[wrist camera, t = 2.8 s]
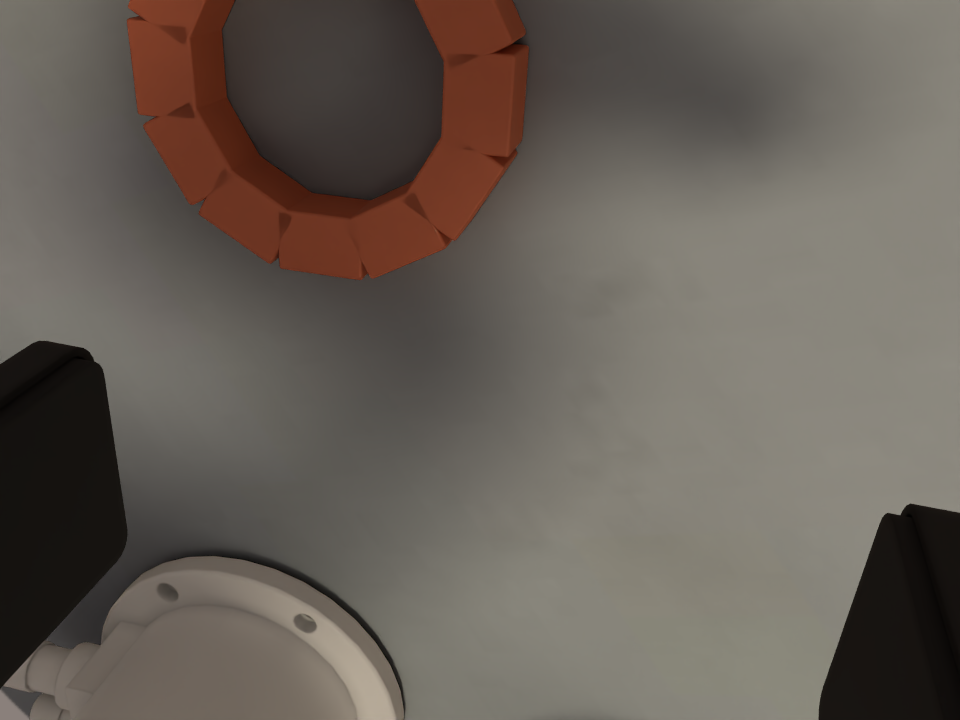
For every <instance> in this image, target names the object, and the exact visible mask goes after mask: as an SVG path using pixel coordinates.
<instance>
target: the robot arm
mask: <svg viewBox="0 0 960 720" xmlns="http://www.w3.org/2000/svg"><path fill="white" fill-rule="evenodd" d="M126 542H127V524H126V518H125V511H124V504H123V497H122V491H121V484H120V477H119V471H118V464H117V457H116V451H115V444H114V437H113V431H112V424H111V417H110V411H109V404H108V397H107V391H106V384H105V377H104V373H103V369H102V367H101V366H100V365H99V364H98V363H96V362H94V359H93V357H92V355H91V354H90V352H89V351H87V350H86V349H84V348H80V347H75V346H70V345H65V344H59V343H54V342H49V341H37V342H35V343H33V344H31V345H29V346H28V347H26V348H25V349H23V350H21V351H20V352H18V353H17V354H15V355H14V356H12V357H11V358H9V359H8V360H6V361H5V362H3V363H1V364H0V688H1V687H2V686H6V687H10V688H14V689H18V690H22V691H26V692H30V693H32V692H41V693H43V694H41V695H40V696H39V697H38V698H37V699H36V701H35V703H34V704H33V706H32V709H31V712H30V715H29V720H404V708H403V702H402V696H401V690H400V688H399V685H398V683H397V680H396V678H395V675H394V673H393V670H392V668H391V666H390V664H389V662H388V661H387V659H386V658H385V656H384V655H383V653H382V651H381V650H380V648H379V647H378V645H377V644H376V642H375V641H374V640H373V639H372V638H371V636H370V635H369V634H368V633H367V632H366V631H365V630H364V629H363V628H362V626H361V625H360V624H359V623H358V622H357V621H356V620H355V619H354V618H353V617H352V616H351V615H349V614H348V613H347V612H346V611H345V610H343V609H342V608H341V607H340V606H339V605H337V604H336V603H335V602H334V601H333V600H332V599H330V598H329V597H327V596H325V595H324V594H322V593H321V592H319V591H317V590H316V589H314V588H313V587H311V586H309V585H308V584H306V583H305V582H303V581H300V580H298V579H296V578H294V577H292V576H289V575H287V574H285V573H283V572H281V571H278V570H276V569H273V568H270V567H266V566H263V565H260V564H256V563H253V562H249V561H246V560H241V559H233V558H225V557H218V556H203V557H186V558H182V559H177V560H173V561H169V562H165V563H162V564H160V565H158V566H156V567H154V568H152V569H150V570H148V571H146V572H144V573H143V574H142V575H141V576H139V577H138V578H137V579H136V580H135V581H134V582H133V583H132V584H131V585H130V586H129V587H128V588H127V589H126V590H125V591H124V593H123V594H122V595H121V596H120V598H119V599H118V600H117V601H116V603H115V604H114V605H113V606H112V607H111V609H110V611H109V613H108V616H107V618H106V621H105V623H104V625H103V630H102V639H101V645H97V644H93V643H89V642H84V643H80V644H78V645H77V646H76V647H75V648H73V649H67V648H63V647H59V646H56V645H55V644H54V643H51V642H49V641H45V639H46V638H47V637H48V636H49V635H50V634H51V633H52V632H53V631H54V629H55V628H56V627H57V626H58V625H59V624H60V623H61V622H62V621H63V620H64V619H65V617H66V616H67V615H68V614H69V613H70V612H71V611H72V610H73V609H74V608H75V607H76V605H77V604H78V603H79V602H80V601H81V600H82V599H83V598H84V597H85V596H86V594H87V593H88V592H89V591H90V590H91V589H92V588H93V587H94V586H95V585H96V584H97V582H98V581H99V580H100V579H101V578H102V577H103V576H104V575H105V574H106V573H107V572H108V570H109V569H110V568H111V567H112V566H113V565H114V564H115V563H116V562H117V560H118V559H119V558H120V556H121V555H122V553H123V551H124V548H125V545H126ZM819 720H960V513H958V512H952V511H947V510H942V509H936V508H931V507H926V506H920V505H915V504H909V505H907V506H906V507H905V508H904V510H903V511H902V513H901V515H895V514H890V513H887V514H885V515H884V516H883V518H882V520H881V522H880V524H879V527H878V530H877V533H876V536H875V539H874V542H873V545H872V548H871V550H870V553H869V556H868V559H867V562H866V565H865V568H864V571H863V574H862V576H861V579H860V582H859V585H858V588H857V591H856V594H855V597H854V600H853V602H852V605H851V608H850V611H849V614H848V617H847V620H846V623H845V626H844V628H843V631H842V634H841V637H840V640H839V643H838V646H837V649H836V652H835V654H834V657H833V660H832V663H831V666H830V669H829V672H828V675H827V678H826V680H825V683H824V686H823V690H822V693H821V698H820V705H819Z"/></svg>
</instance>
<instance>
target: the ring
mask: <svg viewBox="0 0 960 720" xmlns="http://www.w3.org/2000/svg"><path fill="white" fill-rule="evenodd" d="M234 1H235V0H130V2H129V5H128V8H129V9H131V10H132V11H134V12H135V13H136V14H138V15H139V16H138V17H133V18H129V19H127V27H128V35H129V43H130V51H131V60H132V68H133V76H134V85H135V93H136V101H137V109H138V114H140V115H147V116H155V118H153V119H151V120H149V121H148V122H146V123H145V124H144V125H143V127H144V129H145V131H146V133H147V134H148V136H149V138H150V139H151V141H152V143H153V144H154V146H155V148H156V149H157V151H158V153H159V154H160V156H161V158H162V159H163V161H164V163H165V164H166V166H167V168H168V169H169V171H170V172H171V174H172V176H173V177H174V179H175V181H176V182H177V184H178V186H179V187H180V189H181V191H182V192H183V194H184V196H185V197H186V199H187V201H188V202H189V204H190V205H194V204H196V203H198V202H200V201H202V200H204V199H205V200H204V202H203V204H202V207H201V209H200V211H199V215H200V216H202V217H203V218H205V219H206V220H207V221H209V222H210V223H212V224H213V225H215V226H216V227H217V228H219V229H220V230H222V231H223V232H225V233H226V234H227V235H229V236H230V237H232V238H233V239H235V240H236V241H237V242H239V243H240V244H242V245H243V246H244V247H246V248H247V249H249V250H250V251H252V252H253V253H254V254H256V255H257V256H259V257H260V258H262V259H263V260H264V261H266V262H267V263H269V264H271V263H272V262H274V261H275V260H276V259H277V258H279V263H280V268H281V269H287V270H294V271H301V272H308V273H314V274H321V275H328V276H335V277H342V278H349V279H355V280H362V279H363V278H364V277H365V276H366V275H367V274H369V276H370V278H376V277H379V276H381V275H383V274H386V273H388V272H391V271H393V270H395V269H398V268H400V267H403V266H405V265H407V264H410V263H412V262H415V261H417V260H419V259H422V258H424V257H427V256H429V255H431V254H434V253H436V252H438V251H441V250H443V249H445V248H446V247H447V246H448V245H449V243H450V242H451V241H452V240H454V241H455V240H457V238H458V237H459V236H460V235H461V233H462V232H463V231H464V229H465V228H466V227H467V226H468V224H469V223H470V222H471V221H472V219H473V218H474V216H475V215H476V213H477V212H478V210H479V209H480V208H481V206H482V205H483V203H484V202H485V200H486V199H487V197H488V196H489V194H490V193H491V192H492V190H493V189H494V187H495V186H496V184H497V183H498V181H499V180H500V179H501V177H502V176H503V174H504V173H505V171H506V170H507V168H508V167H509V165H510V164H511V163H512V161H513V160H514V158H515V157H516V155H517V151H516V150H515V148H516V147H517V146H518V145H519V143H520V142H521V141H522V135H523V122H524V108H525V95H526V82H527V68H528V55H529V47H528V46H527V45H521V44H512V43H514V42H515V41H517V40H518V39H520V38H521V37H523V36H524V35H525V34H526V30H525V28H524V26H523V23H522V21H521V19H520V17H519V14H518V12H517V10H516V8H515V5H514V3H513V1H512V0H414V1H415V3H416V5H417V7H418V9H419V11H420V13H421V15H422V18H423V20H424V22H425V24H426V26H427V28H428V30H429V32H430V34H431V36H432V38H433V41H434V43H435V45H436V47H437V49H438V51H439V53H440V55H441V57H442V59H443V61H444V72H443V102H442V132H441V138H440V139H439V141H438V143H437V144H436V146H435V147H434V149H433V150H432V152H431V154H430V155H429V157H428V158H427V160H426V162H425V163H424V165H423V166H422V168H421V170H420V171H419V173H418V174H417V176H416V177H415V179H414V181H412V182H410V183H408V184H405V185H403V186H401V187H399V188H397V189H394V190H392V191H390V192H388V193H386V194H384V195H381V196H379V197H377V198H375V199H373V200H364V199H356V198H348V197H340V196H333V195H325V194H317V193H311V192H310V191H309V190H307V189H306V188H304V187H303V186H301V185H300V184H299V183H297V182H296V181H294V180H293V179H292V178H290V177H289V176H287V175H286V174H285V173H283V172H282V171H280V170H279V169H278V168H276V167H275V166H273V165H272V164H271V163H269V162H268V161H266V160H265V159H264V158H262V157H261V156H260V155H259V153H258V152H257V150H256V148H255V146H254V145H253V143H252V141H251V139H250V138H249V136H248V134H247V132H246V130H245V129H244V127H243V125H242V123H241V122H240V120H239V118H238V116H237V114H236V113H235V111H234V109H233V107H232V106H231V104H230V102H229V100H228V98H227V92H226V79H225V66H224V52H223V39H222V28H223V26H224V24H225V21H226V19H227V17H228V15H229V13H230V10H231V8H232V6H233V4H234Z"/></svg>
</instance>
